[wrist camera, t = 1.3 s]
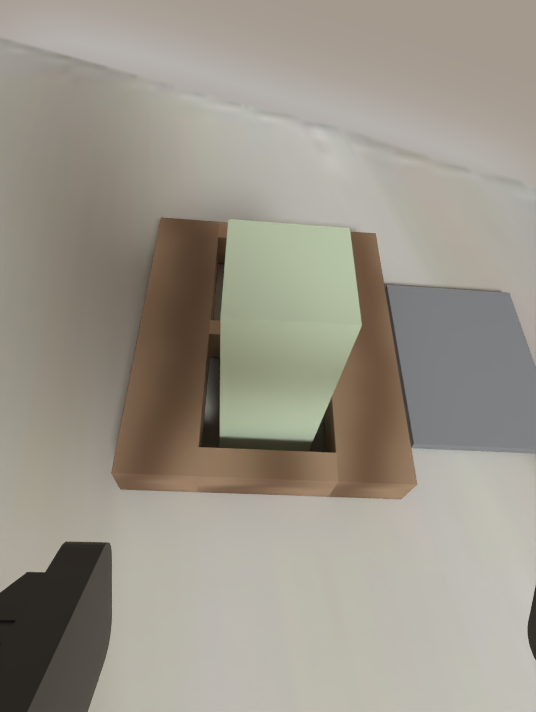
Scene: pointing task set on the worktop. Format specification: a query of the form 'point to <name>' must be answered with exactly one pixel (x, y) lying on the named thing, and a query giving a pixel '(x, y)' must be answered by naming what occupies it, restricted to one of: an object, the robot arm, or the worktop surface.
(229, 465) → the puzzle board
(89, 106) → the worktop surface
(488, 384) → the slate mat
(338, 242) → the sage block
